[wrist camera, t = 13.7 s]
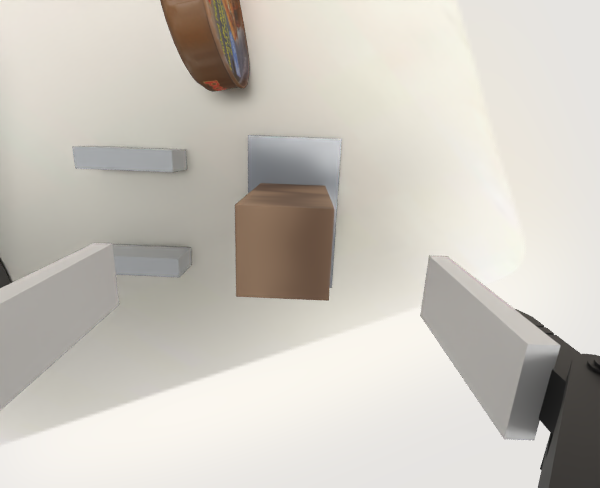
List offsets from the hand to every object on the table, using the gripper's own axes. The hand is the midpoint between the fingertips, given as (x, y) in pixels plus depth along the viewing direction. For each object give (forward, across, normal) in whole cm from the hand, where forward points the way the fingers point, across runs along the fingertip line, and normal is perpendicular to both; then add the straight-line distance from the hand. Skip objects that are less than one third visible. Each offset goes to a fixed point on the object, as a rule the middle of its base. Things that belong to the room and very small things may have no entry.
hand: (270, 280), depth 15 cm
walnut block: (+14, 0, 0) cm, 14 cm away
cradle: (+15, -12, 0) cm, 19 cm away
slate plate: (+15, 0, 0) cm, 15 cm away
